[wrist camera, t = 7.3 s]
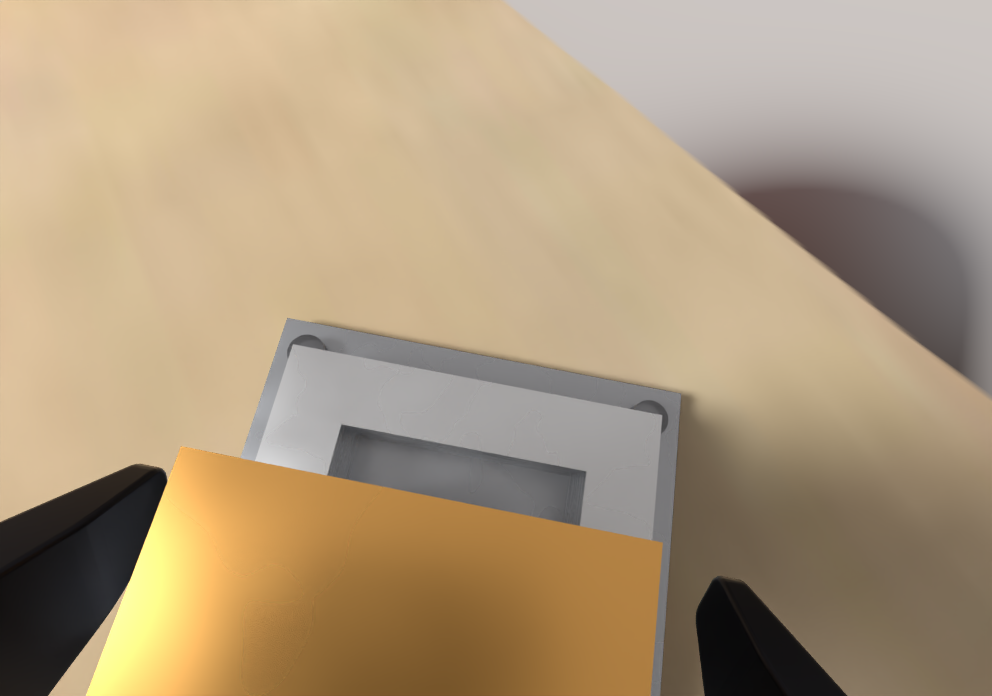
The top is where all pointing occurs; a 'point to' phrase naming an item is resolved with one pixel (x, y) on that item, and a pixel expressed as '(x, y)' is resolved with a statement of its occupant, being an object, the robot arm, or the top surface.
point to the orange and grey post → (372, 594)
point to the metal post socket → (474, 433)
